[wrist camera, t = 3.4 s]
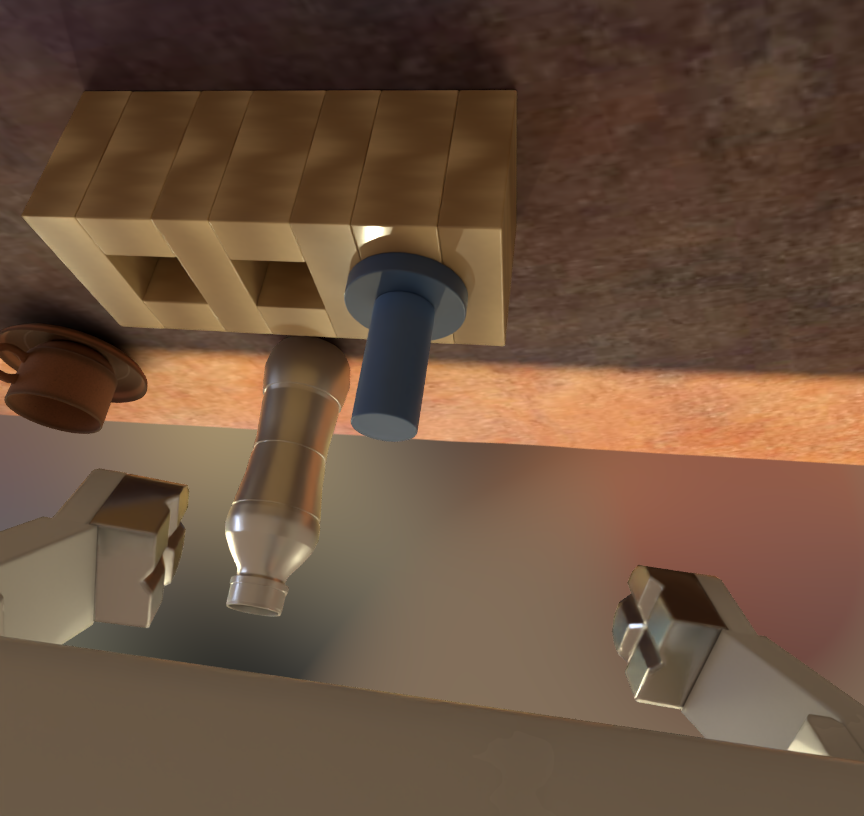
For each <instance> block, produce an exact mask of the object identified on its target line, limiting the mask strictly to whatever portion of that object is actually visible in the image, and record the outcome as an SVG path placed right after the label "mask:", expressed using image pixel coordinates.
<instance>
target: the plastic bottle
mask: <svg viewBox="0 0 864 816" xmlns="http://www.w3.org/2000/svg"><path fill="white" fill-rule="evenodd" d="M349 388H350V366H349V363H348V361H347V359H346V357H345V355H344V353H343V352H342V351H341V350H340V349H339V348H338V347H336V346H335V345H333V344H331V343H329V342H327V341H325V340H322V339H319V338H315V337H311V336H291V337H288V338H285V339H284V340H282V341H281V342H280V343H278V344H277V345H276V346H275V347H274V348H273V349H272V352H271V354H270V356H269V358H268V360H267V362H266V365H265V370H264V379H263V395H264V396H263V400H262V406H261V412H260V418H259V425H258V431H257V437H256V439H255V442H254V446H253V451H252V452H251V455H250V459H249V462H248V465H247V468H246V472H245V474H244V476H243V479H242V481H241V484H240V486H239V488H238V491H237V493H236V496H235V498H234V500H233V503H232V505H231V506H232V507H231V508H230V510H229V513H228V516H227V519H226V522H225V526H226V528H225V529H226V539H227V542H228V545H229V549H230V552H231V554H232V556H233V559H234V561H235V564H236V566H237V576H232V577H231V580H230V585H231V586H230V590H229V594H228V598H227V601H226V602H227V604H226V606H227V607H229V608H231V609H235V610H238V611H241V612H246V613H251V614H257V615H265V616H280V614H281V612H282V609H283V604H284V599H285V596H286V595H287V593H288V589H289V587H288V586H286V585H285V582H286V580H287V578H288V577H289V576H290V575H291V574H292V573H293V572H294V571H295V570H296V569H297V568H299V567H300V566H301V565H302V564H303V563H304V561H305V560H306V559H307V558H308V557H309V556H310V555H311V554H312V552H313V550H314V548H315V546H316V544H317V543H318V539H319V531H320V526H319V524H320V516H321V499H322V487H323V480H324V474H325V467H324V466H325V464H326V460H327V454H328V449H329V446H330V442H331V439H332V436H333V432H334V429H335V425H336V422H337V419H338V415H339V413H340V411H341V409H342V407H343V405H344V403H345V400H346V397H347V394H348V391H349Z"/></svg>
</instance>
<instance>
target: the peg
mask: <svg viewBox="0 0 864 816" xmlns="http://www.w3.org/2000/svg"><path fill="white" fill-rule="evenodd" d="M344 301H345V305H346V308H347V310H348V311H349V313H350V314H351V316H352V317H353V318H354V319H355V320H356V321H358V322H359V323H360V324H361V325H363V326H364V327H366V328H368V329H369V332H368V337H367V342H366V347H365V352H364V357H363V362H362V367H361V372H360V377H359V383H358V388H357V393H356V398H355V403H354V408H353V413H352V418H351V424H352V426H353V428H354V429H355V430H356V431H358V432H359V433H361V434H363V435H365V436H367V437H370V438H373V439H377V440H382V441H391V442H398V441H405V440H409V439H412V438H413V437H415V436H416V434H417V431H418V424H419V418H420V411H421V404H422V398H423V391H424V385H425V378H426V371H427V365H428V358H429V351H430V345H431V341H432V340H437V339H441V338H444V337H447V336H449V335H451V334H453V333H454V332H456V331H457V330H458V329H459V328H460V327H461V326H462V324H463V323H464V321H465V318H466V313H467V305H468V292H467V289H466V286H465V284H464V282H463V281H462V279H461V278H460V277H459V276H458V275H457V274H456V273H455V272H454V271H453V270H451V269H450V268H448V267H447V266H445V265H443V264H442V263H440V262H438V261H435V260H433V259H430V258H428V257H425V256H421V255H417V254H411V253H402V252H390V253H381V254H376V255H373V256H370V257H367V258H365V259H363V260H362V261H360V262H359V263H357V264H356V265H355V266H354V267H353V268H352V270H351V271H350V273H349V275H348V279H347V284H346V288H345V293H344Z"/></svg>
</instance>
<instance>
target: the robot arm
mask: <svg viewBox="0 0 864 816" xmlns="http://www.w3.org/2000/svg"><path fill="white" fill-rule="evenodd" d="M188 497H189V489H188V485H184V484H179V483H174V482H169V481H164V480H159V479H154V478H148V477H143V476H138V475H133V474H127V473H123V472H118V471H112V470H105V469H95V470H93V471H92V472H91V473H90V474H89V476H88V477H87V478H86V479H85V480H84V481H83V483H82V484H81V485H80V486H79V487H78V488H77V490H76V491H75V492H74V493H73V494H72V495H71V497H70V498H69V499H68V500H67V501H66V502H65V504H64V505H63V506H62V507H61V508H60V509H59V511H58V512H57V513H56V514H55V515H54V516H53V518H48V517H40V518H37V519H35V520H32V521H29V522H26V523H23V524H21V525H17V526H15V527H12V528H9V529H6V530H3V531H0V816H864V706H863V705H862V704H860V703H859V702H857V701H856V700H855V699H853V698H852V697H850V696H849V695H848V694H846V693H845V692H843V691H842V690H840V689H839V688H838V687H836V686H835V685H833V684H832V683H830V682H829V681H827V680H826V679H825V678H823V677H822V676H820V675H819V674H818V673H816V672H815V671H814V670H812V669H810V668H809V667H808V666H807V665H805V664H804V663H802V662H801V661H799V660H798V659H797V658H795V657H794V656H792V655H791V654H790V653H788V652H787V651H785V650H784V649H782V648H781V647H780V646H778V645H777V644H775V643H774V642H772V641H771V640H770V639H768V638H767V637H765V636H759V635H757V633H756V632H755V630H754V629H753V627H752V626H751V625H750V623H749V621H748V620H747V618H746V617H745V615H744V614H743V612H742V611H741V609H740V608H739V606H738V605H737V603H736V602H735V600H734V599H733V597H732V596H731V594H730V592H729V591H728V589H727V588H726V586H725V585H724V583H723V582H722V580H720V579H719V578H717V577H716V576H711V575H704V574H696V573H688V572H680V571H673V570H668V569H661V568H654V567H648V566H641V565H638V566H637V567H636V568H635V569H634V570H633V571H632V574H631V576H630V578H629V581H628V585H629V588H630V591H631V594H630V595H629V596H627V597H626V598H624V599H623V600H622V601H620V602H619V604H618V607H617V610H616V612H615V615H614V621H613V631H612V632H613V639H614V644H615V647H616V650H617V653H618V654H619V655H620V656H621V657H622V658H623V659H624V660H626V661H627V662H628V666H627V668H626V671H625V674H626V677H627V679H628V682H629V685H630V687H631V690H632V692H633V695H634V697H635V700H636V701H637V702H643V703H648V704H654V705H659V706H665V707H671V708H676V709H682V711H681V712H682V713H683V714H684V715H685V716H686V717H687V719H688V720H689V721H690V722H691V723H692V724H693V725H694V726H695V727H696V728H697V729H698V730H699V732H700V733H701V734H702V735H703V736H704V737H705V738H701V737H694V736H687V735H680V734H672V733H666V732H659V731H652V730H645V729H638V728H632V727H625V726H617V725H611V724H603V723H597V722H590V721H583V720H576V719H570V718H563V717H556V716H549V715H541V714H535V713H528V712H521V711H514V710H507V709H500V708H494V707H486V706H480V705H472V704H466V703H459V702H452V701H446V700H438V699H432V698H425V697H418V696H411V695H404V694H397V693H390V692H384V691H376V690H370V689H363V688H356V687H349V686H342V685H336V684H329V683H322V682H315V681H308V680H301V679H294V678H287V677H280V676H273V675H267V674H260V673H253V672H246V671H239V670H232V669H225V668H218V667H212V666H204V665H197V664H191V663H184V662H177V661H170V660H163V659H157V658H150V657H143V656H136V655H129V654H122V653H115V652H108V651H101V650H95V649H88V648H81V647H74V646H67V645H62V644H63V643H65V642H66V641H68V640H69V639H71V638H73V637H74V636H76V635H77V634H79V633H80V632H82V631H83V630H85V629H86V628H88V627H89V626H91V625H92V624H93V621H95V622H104V623H111V624H120V625H129V626H136V627H144V628H149V626H150V624H151V622H152V620H153V618H154V616H155V614H156V612H157V610H158V608H159V606H160V604H161V602H162V599H163V589H164V586H165V585H167V584H169V583H171V581H172V579H173V577H174V575H175V573H176V571H177V568H178V565H179V561H180V558H181V555H182V550H183V545H184V538H185V528H184V526H183V525H182V523H181V519H182V517H183V515H184V513H185V512H186V510H187V508H188Z"/></svg>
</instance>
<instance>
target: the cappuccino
mask: <svg viewBox="0 0 864 816" xmlns="http://www.w3.org/2000/svg"><path fill="white" fill-rule="evenodd" d="M0 358H1V359H2V360H3V361H4V362H5V363H6V364H8V365H9V366H10V367H12V368H13V369H14V370H16V371H17V373H16V374H7V373H5V372H3V371H1V370H0V380H2V381H4V382H7V383H11V385H10V388H9V390H8V392H7V394H6V396H5V399H4V400H5V403H6V405H7V406H8V407H9V408H10V409H11V410H12V411H14V412H15V413H17V414H18V415H20V416H22V417H24V418H26V419H28V420H30V421H32V422H35V423H37V424H40V425H43V426H46V427H49V428H52V429H57V430H61V431H65V432H71V433H79V434H90V433H95V432H98V431H100V430H101V428H102V426H103V423H104V420H105V418H106V415H107V412H108V409H109V406H110V403H111V402H113V403H122V402H131V401H135V400H138V399H140V398H142V397H143V396H144V395H145V394H146V391H147V379H146V377H145V375H144V373H143V372H142V370H141V368H140V367H139V366H138V365H137V364H136V363H135V362H134V361H133V360H132V359H131V358H130V357H129V356H128V355H126V354H125V353H124V352H122V351H121V350H119V349H118V348H116V347H114V346H113V345H111V344H109V343H107V342H105V341H103V340H101V339H99V338H96V337H94V336H91V335H89V334H86V333H83V332H80V331H77V330H74V329H70V328H66V327H62V326H57V325H50V324H42V323H27V324H19V325H15V326H11V327H8V328H5V329H3V330H2V331H0Z"/></svg>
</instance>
